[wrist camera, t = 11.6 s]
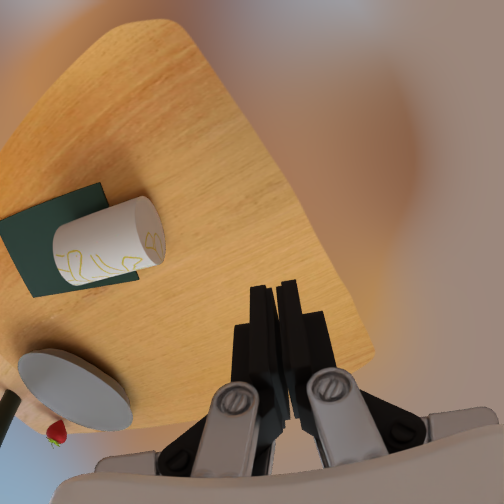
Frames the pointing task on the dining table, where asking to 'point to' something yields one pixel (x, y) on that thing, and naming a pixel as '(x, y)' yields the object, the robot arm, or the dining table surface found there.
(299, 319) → the robot arm
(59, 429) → the strawberry
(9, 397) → the wine bottle
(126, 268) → the cup
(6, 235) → the mat
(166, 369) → the dining table surface
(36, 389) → the flat disc
